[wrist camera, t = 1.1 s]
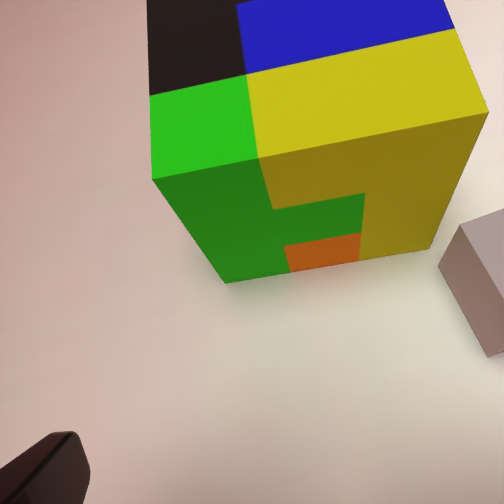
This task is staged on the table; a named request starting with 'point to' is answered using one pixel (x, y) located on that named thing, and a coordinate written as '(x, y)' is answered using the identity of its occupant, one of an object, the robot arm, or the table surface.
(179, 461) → the table surface
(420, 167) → the puzzle toy
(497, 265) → the slate block
